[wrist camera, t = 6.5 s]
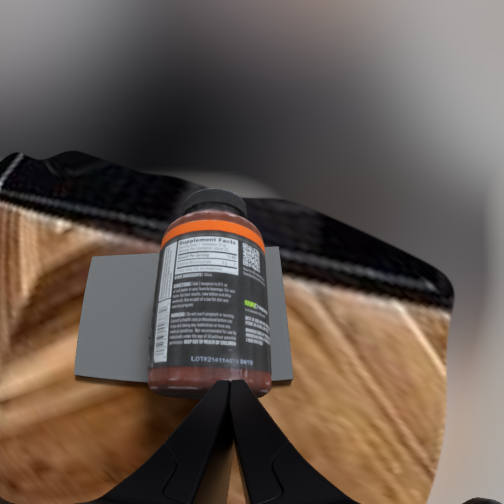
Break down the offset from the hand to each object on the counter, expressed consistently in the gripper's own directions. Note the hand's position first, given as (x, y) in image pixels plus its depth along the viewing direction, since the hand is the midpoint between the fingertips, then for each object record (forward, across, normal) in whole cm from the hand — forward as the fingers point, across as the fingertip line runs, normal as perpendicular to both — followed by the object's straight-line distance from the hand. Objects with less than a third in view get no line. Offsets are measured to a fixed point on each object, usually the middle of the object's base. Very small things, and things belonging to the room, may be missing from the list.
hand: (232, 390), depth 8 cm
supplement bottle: (+3, +1, +3) cm, 5 cm away
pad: (+10, +4, +2) cm, 11 cm away
